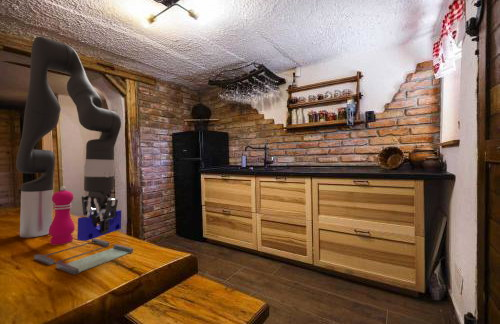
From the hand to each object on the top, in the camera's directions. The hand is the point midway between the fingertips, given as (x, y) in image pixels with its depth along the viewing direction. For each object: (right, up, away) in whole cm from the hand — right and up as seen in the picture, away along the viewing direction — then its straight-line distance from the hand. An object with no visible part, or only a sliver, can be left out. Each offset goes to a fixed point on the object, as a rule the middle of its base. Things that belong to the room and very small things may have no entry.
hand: (98, 231), depth 68 cm
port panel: (-6, -8, +3) cm, 10 cm away
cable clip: (0, -1, 0) cm, 1 cm away
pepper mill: (-22, -8, +14) cm, 28 cm away
